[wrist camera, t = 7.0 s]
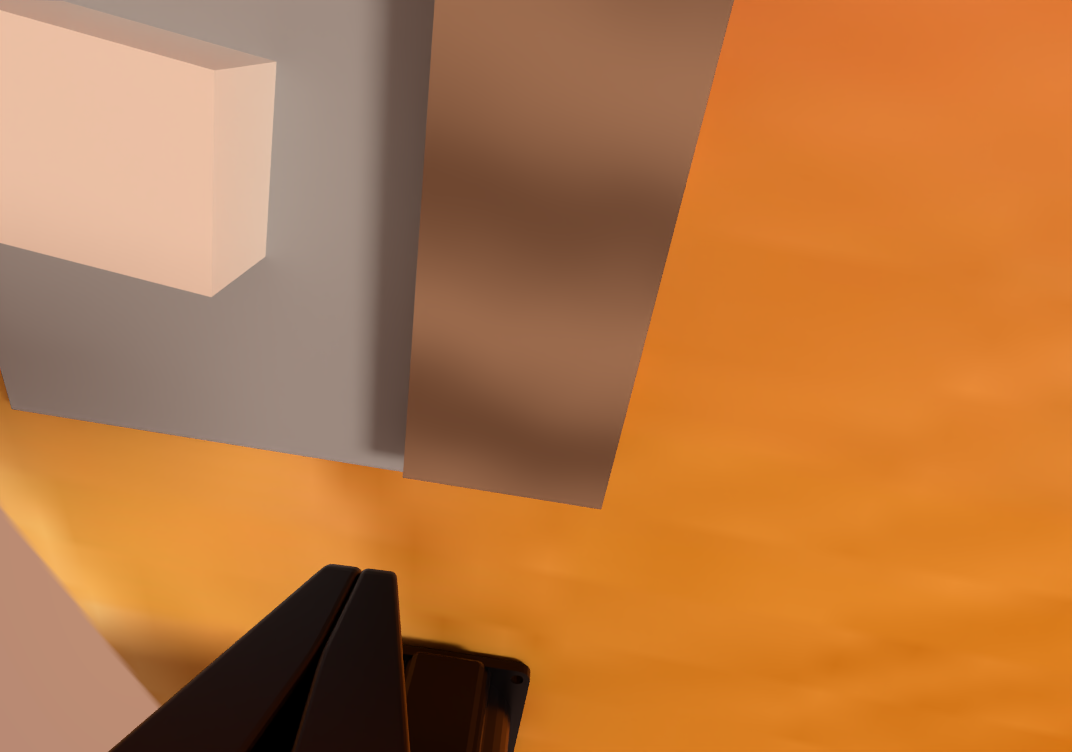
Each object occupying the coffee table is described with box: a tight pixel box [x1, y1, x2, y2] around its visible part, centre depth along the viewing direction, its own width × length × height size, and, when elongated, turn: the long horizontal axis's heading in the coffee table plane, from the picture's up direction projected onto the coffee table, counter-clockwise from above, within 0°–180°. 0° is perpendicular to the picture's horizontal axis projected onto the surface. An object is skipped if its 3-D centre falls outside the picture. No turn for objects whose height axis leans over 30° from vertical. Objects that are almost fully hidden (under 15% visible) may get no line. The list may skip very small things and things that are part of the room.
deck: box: [403, 0, 734, 509], centre depth 17 cm, size 16×6×2 cm, turn 171°
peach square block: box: [0, 0, 277, 297], centre depth 15 cm, size 5×5×3 cm
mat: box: [0, 0, 435, 472], centre depth 17 cm, size 18×13×1 cm
